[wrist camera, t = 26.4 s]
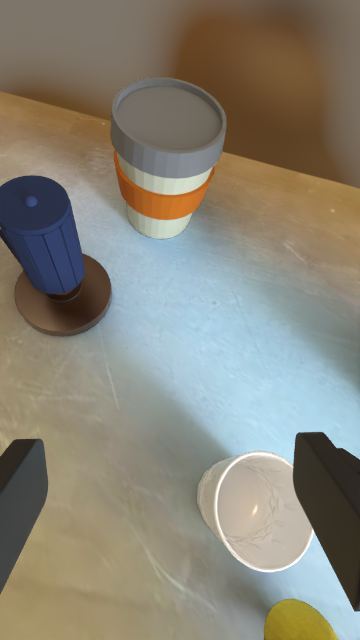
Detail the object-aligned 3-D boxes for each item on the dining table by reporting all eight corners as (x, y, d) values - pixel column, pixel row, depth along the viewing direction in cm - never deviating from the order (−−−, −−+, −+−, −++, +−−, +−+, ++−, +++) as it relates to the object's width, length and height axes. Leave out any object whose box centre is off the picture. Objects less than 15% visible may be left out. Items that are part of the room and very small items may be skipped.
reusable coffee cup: (104, 189, 48) (94, 79, 34) (183, 176, 51) (202, 71, 37) (130, 258, 43) (130, 164, 30) (214, 239, 47) (248, 146, 33)
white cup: (221, 561, 31) (258, 600, 22) (175, 484, 33) (193, 492, 24) (280, 507, 34) (335, 522, 24) (234, 439, 36) (270, 430, 27)
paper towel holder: (70, 243, 43) (43, 141, 29) (130, 295, 41) (130, 211, 28) (-2, 294, 39) (-73, 202, 25) (61, 355, 37) (21, 290, 23)
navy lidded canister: (95, 276, 35) (82, 206, 26) (46, 303, 33) (12, 238, 24) (45, 213, 38) (16, 127, 28) (-4, 234, 36) (-52, 150, 26)
